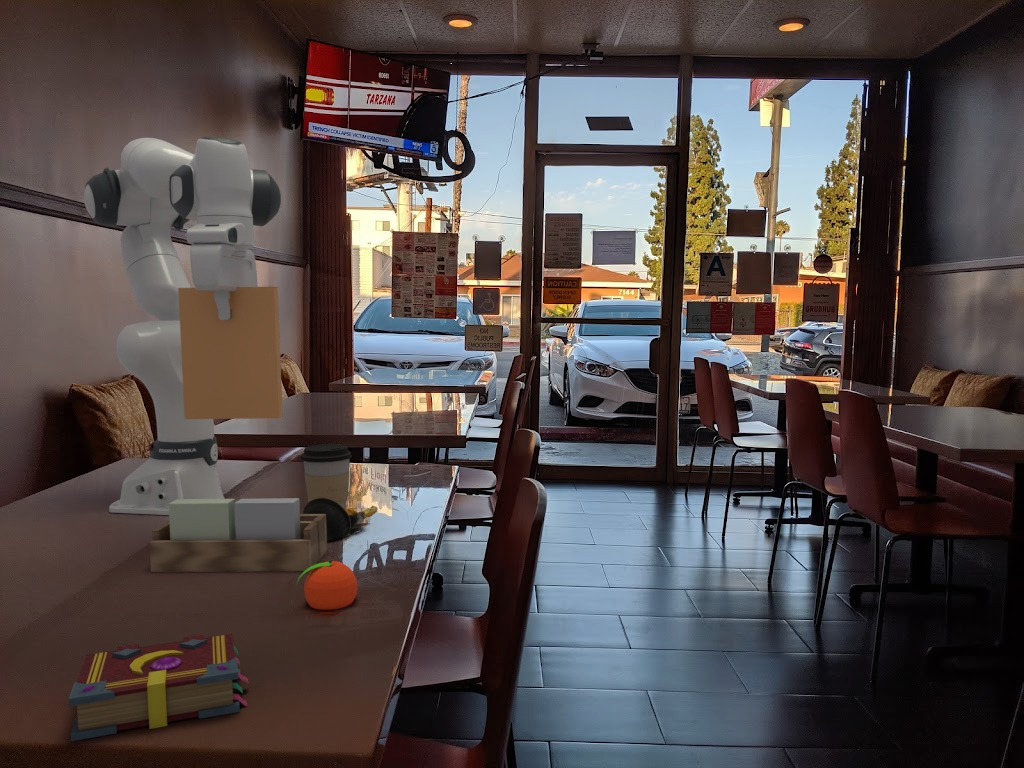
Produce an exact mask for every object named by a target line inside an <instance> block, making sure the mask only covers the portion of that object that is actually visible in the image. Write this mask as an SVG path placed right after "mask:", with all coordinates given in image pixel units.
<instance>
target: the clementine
mask: <svg viewBox="0 0 1024 768" xmlns="http://www.w3.org/2000/svg"><path fill="white" fill-rule="evenodd" d="M309 570H310V571H309ZM307 572H309V574H308V575H307V577H306V579H305V581H304V588H303V589H304V590H303V591H304V597H305V600H306V602H307V603H308V605H309V606H310V608H312V609H316V610H322V612H319V613H318V614H322V615H327V616H328V615H329V616H330V615H331V616H332V615H337V614H340V613H341V612H338V611H337V612H333V611H332V610H338V609H342V608H345V607H348V606H350V605H351V604H353V603H354V601H355V599H356V596H357V593H358V582H357V577H356V575H355V574H354V571H353V570H352V569H351V568H350V567H349V566H348V565H346V564H345V563H343V562H340V561H335V560H329V561H324V562H319V563H316V564H315V565H313V566H311V567H309V568H308V569H306V570H305V571H302V573H301V574H300V575H299V577H298V579H297V582H296V586H297V585H298V582H300V581H299V580H300V579H301V578H302V577H303V576H304V575H305V574H306V573H307ZM323 611H324V612H323ZM325 611H326V612H325ZM327 611H331V612H327Z"/></svg>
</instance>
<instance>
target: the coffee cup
mask: <svg viewBox="0 0 1024 768" xmlns="http://www.w3.org/2000/svg"><path fill="white" fill-rule="evenodd" d="M352 456H353V455H352V452H351V451H350V450H349V448H348V446H347V445H345V444H340V443H325V444H323V443H322V444H316V445H315V444H314V445H313V444H312V445H309V446H305V447H304V448H303V453H302V454H300V458H299V459H300V461H302V462H303V467H304V482H305V487H306V488H305V489H306V494H307V504H308V503H309V502H310V501H312V500H314V499H318V498H326V499H330V500H333V501H335V502H337V503H338V504H340V505H341V506H342V507H344V508H347V503H348V502H347V501H348V500H349V499H348V498H349V497H348V495H349V486H350V485H349V482H350V481H349V480H350V469H349V468H350V459H351V458H353V457H352Z"/></svg>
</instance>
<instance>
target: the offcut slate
mask: <svg viewBox="0 0 1024 768" xmlns="http://www.w3.org/2000/svg"><path fill="white" fill-rule="evenodd" d="M300 505H301V503H300V498H299V497H295V498H294V497H293V498H292V497H291V498H290V497H289V498H286V497H283V498H274V497H273V498H240V499H239V500H238V501H235V503H234V506H235V529H236V540H292V539H301V531H300V514H301V510H300V508H301V507H300Z"/></svg>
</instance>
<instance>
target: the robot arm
mask: <svg viewBox="0 0 1024 768" xmlns="http://www.w3.org/2000/svg"><path fill="white" fill-rule="evenodd" d="M250 165H251V164H250V160H249V154H248V150H247V147H246V145H245V144H244V143H243V142H241V141H240V140H237V139H231V138H223V137H215V136H202V137H200V138H198V139H197V140H196V144H195V152H194V153H191V152H189V151H187V150H185V149H184V148H181V147H179V146H177V145H175V144H172V143H170V142H168V141H166V140H162V139H160V138H155V137H141V138H137V139H133V140H131V141H130V142H128V143H127V144H126V145H125V146H124V148H123V149H122V151H121V155H120V167H119V168H118V169H110V168H109V167H105V168H104V169H103V170H102V172H100V173H97V174H94V175H92V177H90V178H89V179H88V181H86V183H85V186H84V194H83V202H84V206H85V208H86V211H87V212H88V215H89V216H90V218H91V220H92V221H93V222H95V223H96V224H97V225H100V226H105V227H116V226H125V228H124V229H123V230H122V232H121V235H120V248H121V249H120V250H121V256H122V261H123V266H124V268H125V272H126V277H127V278H128V281H129V284H130V288H131V290H132V293H133V295H134V300H135V302H136V304H137V305H138V307H139V308H140V309H141V310H142V311H143V312H144V313H145V314H147V315H149V316H151V317H153V318H155V319H158V320H146V321H141V322H137V323H133V324H127V325H126V326H125V327H123V328H122V330H121V331H120V333H119V334H118V337H117V339H116V343H115V349H116V350H115V352H116V356H117V359H118V361H119V362H120V364H121V366H123V368H124V369H125V370H126V371H128V372H129V373H130V374H132V375H134V376H135V377H136V378H138V379H139V380H140V381H141V383H142V384H143V385H144V386H145V388H146V389H147V391H148V393H149V395H150V397H151V399H152V402H153V406H154V411H155V420H156V421H155V422H156V431H157V432H156V434H157V439H156V440H154V441H153V442H151V443H150V444H148V445H146V446H145V448H146V449H145V451H146V452H149V458H148V459H147V460H146V461H144V462H143V463H142V464H141V465H140V466H138V467H137V468H136V469H134V471H133V472H131V473H130V474H128V475H127V476H126V477H125V478H124V480H123V483H122V486H121V491H120V498H119V499H117V500H115V501H114V502H112V503H111V504H110V505H109V509H108V511H109V513H116V514H135V515H136V514H137V515H138V514H139V515H140V514H141V515H159V516H169V503H171V502H173V501H175V500H177V499H226V498H225V496H224V493H223V491H222V490H223V489H222V487H221V483H220V478H219V477H220V476H219V472H218V465H217V463H218V455H219V453H218V452H219V450H218V443H217V437H216V436H215V428H214V427H215V425H214V419H185V415H184V395H183V375H182V354H181V334H180V314H179V294H178V288H192V287H191V285H190V282H189V280H188V277H187V275H186V273H185V270H184V268H183V265H182V261H181V260H180V258H179V255H178V252H177V250H176V249H175V246H174V243H173V240H172V237H171V230H172V227H173V229H175V230H176V231H181V230H183V229H184V225H185V224H186V223H188V222H190V220H191V221H196V224H194V225H193V226H191V227H190V228H188V229H187V230H186V242H187V243H188V244H189V245H190V248H189V257H190V258H189V261H190V262H189V263H190V270H191V279H192V283H193V285H194V286H193V287H194V288H196V290H198V291H213V292H214V299H215V302H216V305H217V308H218V315H219V319H220V320H231V319H232V309H230V303H229V298H230V291H231V292H235V291H236V289H237V287H259V286H258V283H259V282H258V273H257V262H256V257H255V254H254V252H253V251H252V250H250V249H251V248H254V246H255V239H254V226H256V227H264V226H266V225H267V224H268V223H270V222H271V221H272V220H273V219H274V218H275V217H276V216H277V214H278V213H279V211H280V208H281V203H282V197H281V190H280V187H279V184H277V182H276V180H275V179H274V178H273V176H272V175H271V174H270V173H269V172H267V171H266V170H265V169H255V168H252V169H251V166H250Z"/></svg>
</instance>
